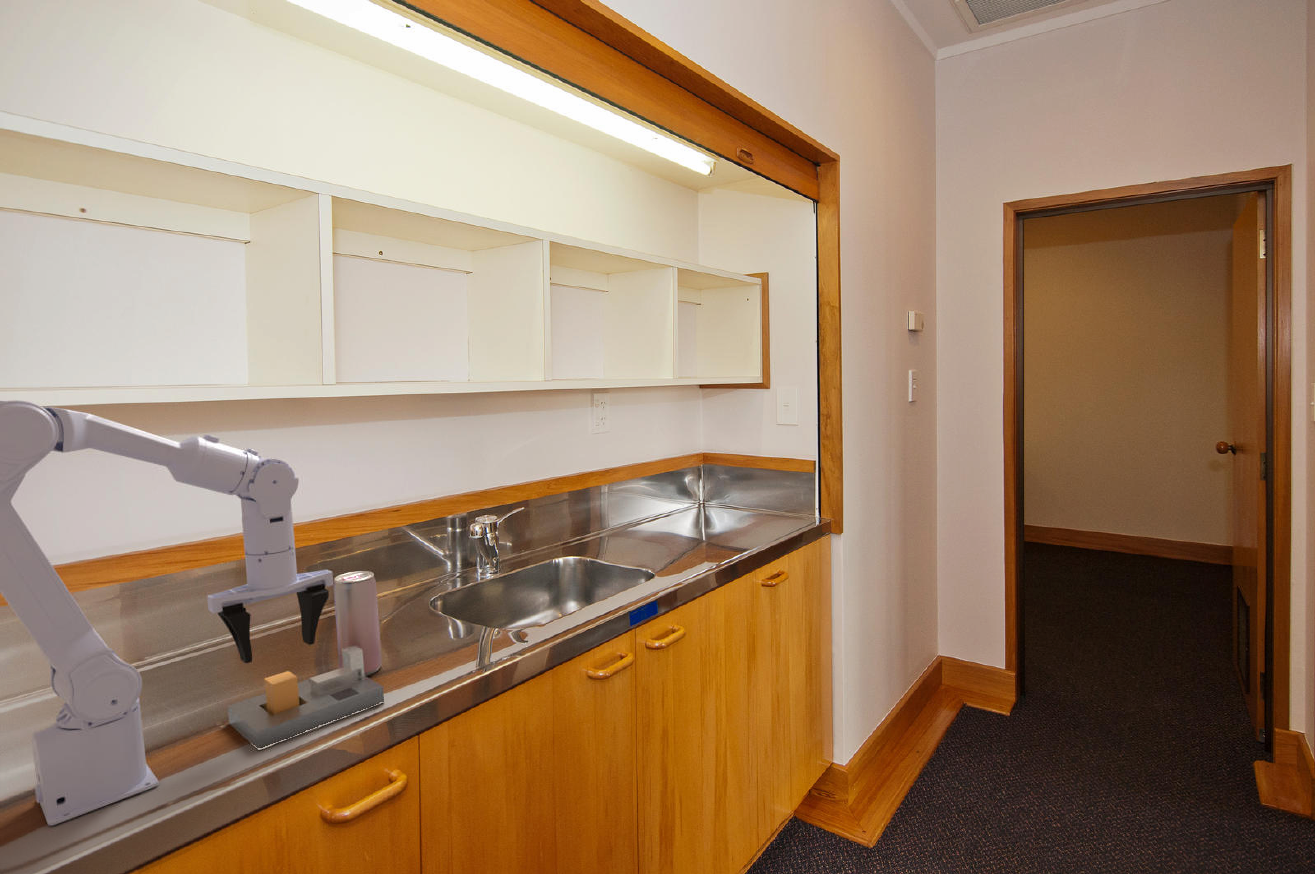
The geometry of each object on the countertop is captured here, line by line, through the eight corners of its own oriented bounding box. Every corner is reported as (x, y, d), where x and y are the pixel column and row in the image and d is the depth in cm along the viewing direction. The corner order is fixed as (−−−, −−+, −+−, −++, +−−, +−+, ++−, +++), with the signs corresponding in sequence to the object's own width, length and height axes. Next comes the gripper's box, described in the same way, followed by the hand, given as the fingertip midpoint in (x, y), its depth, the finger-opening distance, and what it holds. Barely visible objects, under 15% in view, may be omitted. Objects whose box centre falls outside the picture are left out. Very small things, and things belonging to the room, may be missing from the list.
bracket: (318, 695, 95) (315, 664, 95) (311, 690, 97) (308, 659, 96) (364, 679, 100) (362, 649, 99) (356, 675, 101) (354, 645, 101)
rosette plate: (258, 751, 86) (256, 732, 86) (229, 723, 93) (227, 705, 93) (384, 703, 98) (383, 686, 97) (349, 681, 105) (348, 666, 105)
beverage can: (334, 671, 109) (326, 577, 108) (372, 660, 113) (365, 568, 112) (349, 682, 105) (341, 584, 103) (388, 670, 109) (381, 575, 108)
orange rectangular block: (276, 729, 91) (272, 684, 91) (268, 722, 93) (264, 678, 93) (300, 720, 93) (297, 676, 93) (292, 713, 96) (288, 671, 95)
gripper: (315, 535, 99) (322, 629, 100) (196, 557, 89) (206, 661, 90) (336, 542, 94) (343, 640, 96) (213, 565, 84) (223, 676, 85)
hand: (278, 651), depth 92 cm, fingers open, 7 cm apart
